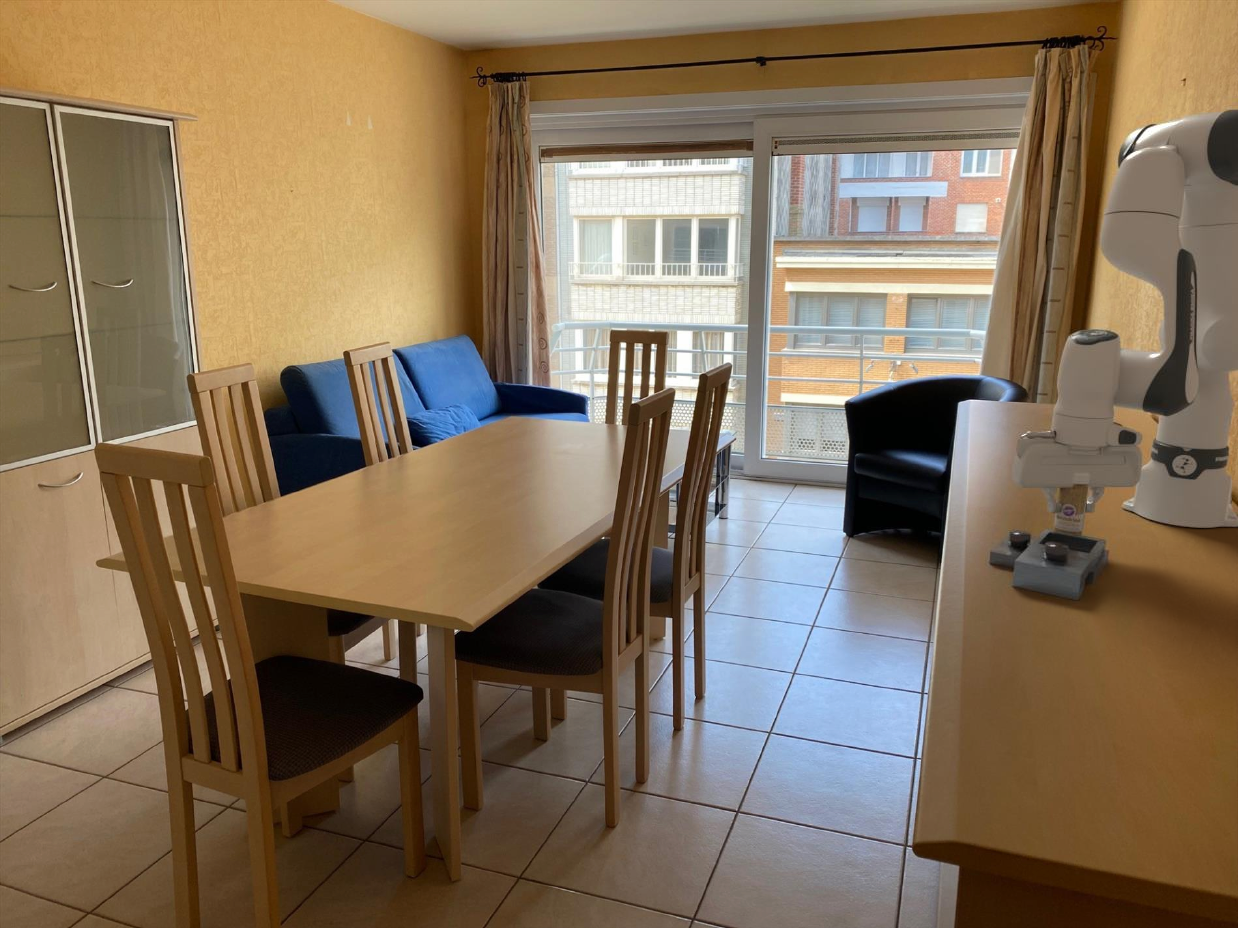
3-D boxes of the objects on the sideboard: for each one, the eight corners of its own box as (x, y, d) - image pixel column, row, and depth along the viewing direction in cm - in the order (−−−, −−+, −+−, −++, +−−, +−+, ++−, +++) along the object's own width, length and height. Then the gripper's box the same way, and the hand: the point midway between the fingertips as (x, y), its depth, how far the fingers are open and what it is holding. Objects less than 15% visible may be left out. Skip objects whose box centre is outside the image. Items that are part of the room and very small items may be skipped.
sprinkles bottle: (1052, 549, 152) (1061, 471, 148) (1050, 541, 156) (1059, 465, 152) (1082, 552, 150) (1093, 474, 147) (1079, 544, 154) (1090, 467, 151)
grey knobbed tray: (1009, 543, 155) (1012, 521, 154) (1107, 562, 146) (1111, 538, 145) (989, 563, 145) (991, 539, 144) (1092, 584, 136) (1096, 559, 135)
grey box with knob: (1042, 551, 151) (1047, 517, 149) (1102, 563, 145) (1108, 527, 144) (1011, 585, 136) (1016, 548, 134) (1077, 600, 131) (1082, 561, 129)
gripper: (1027, 435, 145) (1018, 518, 148) (1152, 434, 145) (1140, 517, 149) (1009, 427, 151) (1000, 507, 154) (1129, 426, 151) (1118, 506, 155)
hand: (1070, 512), depth 151 cm, fingers closed on sprinkles bottle, 4 cm apart
